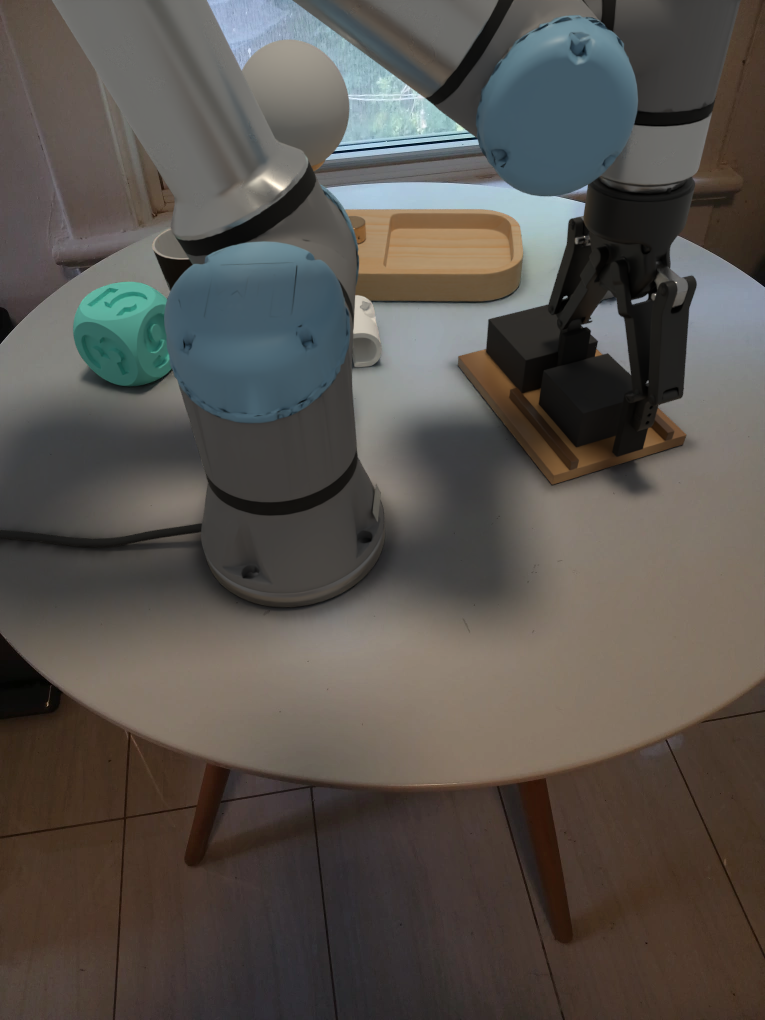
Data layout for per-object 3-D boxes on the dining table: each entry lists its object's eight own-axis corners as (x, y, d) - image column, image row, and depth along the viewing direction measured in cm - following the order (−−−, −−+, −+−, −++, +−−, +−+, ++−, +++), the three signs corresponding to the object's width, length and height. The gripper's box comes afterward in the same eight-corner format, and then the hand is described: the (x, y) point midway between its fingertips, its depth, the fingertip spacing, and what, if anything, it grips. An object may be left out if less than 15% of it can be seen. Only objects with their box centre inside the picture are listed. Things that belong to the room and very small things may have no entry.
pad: (521, 393, 73) (525, 360, 70) (485, 351, 78) (488, 318, 75) (591, 374, 74) (598, 341, 72) (551, 334, 80) (556, 301, 77)
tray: (551, 485, 65) (555, 467, 64) (457, 365, 78) (458, 347, 77) (683, 444, 68) (690, 426, 67) (571, 335, 81) (574, 318, 80)
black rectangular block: (575, 447, 67) (583, 413, 64) (538, 404, 71) (543, 370, 69) (641, 428, 68) (651, 393, 65) (600, 386, 73) (607, 352, 70)
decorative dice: (131, 339, 84) (110, 275, 78) (190, 352, 82) (172, 288, 76) (87, 378, 79) (61, 313, 73) (148, 394, 77) (126, 327, 71)
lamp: (515, 236, 98) (537, 14, 80) (522, 303, 86) (550, 61, 68) (274, 235, 101) (242, 21, 83) (248, 301, 89) (205, 67, 71)
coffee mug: (233, 344, 83) (215, 261, 75) (162, 338, 84) (138, 256, 77) (265, 292, 90) (251, 212, 83) (199, 287, 92) (181, 208, 85)
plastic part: (382, 365, 79) (379, 265, 70) (290, 373, 78) (276, 274, 70) (375, 327, 84) (371, 229, 76) (289, 334, 83) (275, 237, 75)
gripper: (797, 220, 46) (706, 480, 62) (602, 121, 61) (568, 351, 77) (697, 244, 45) (630, 505, 60) (523, 137, 60) (505, 368, 76)
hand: (595, 418), depth 69 cm, fingers open, 10 cm apart
